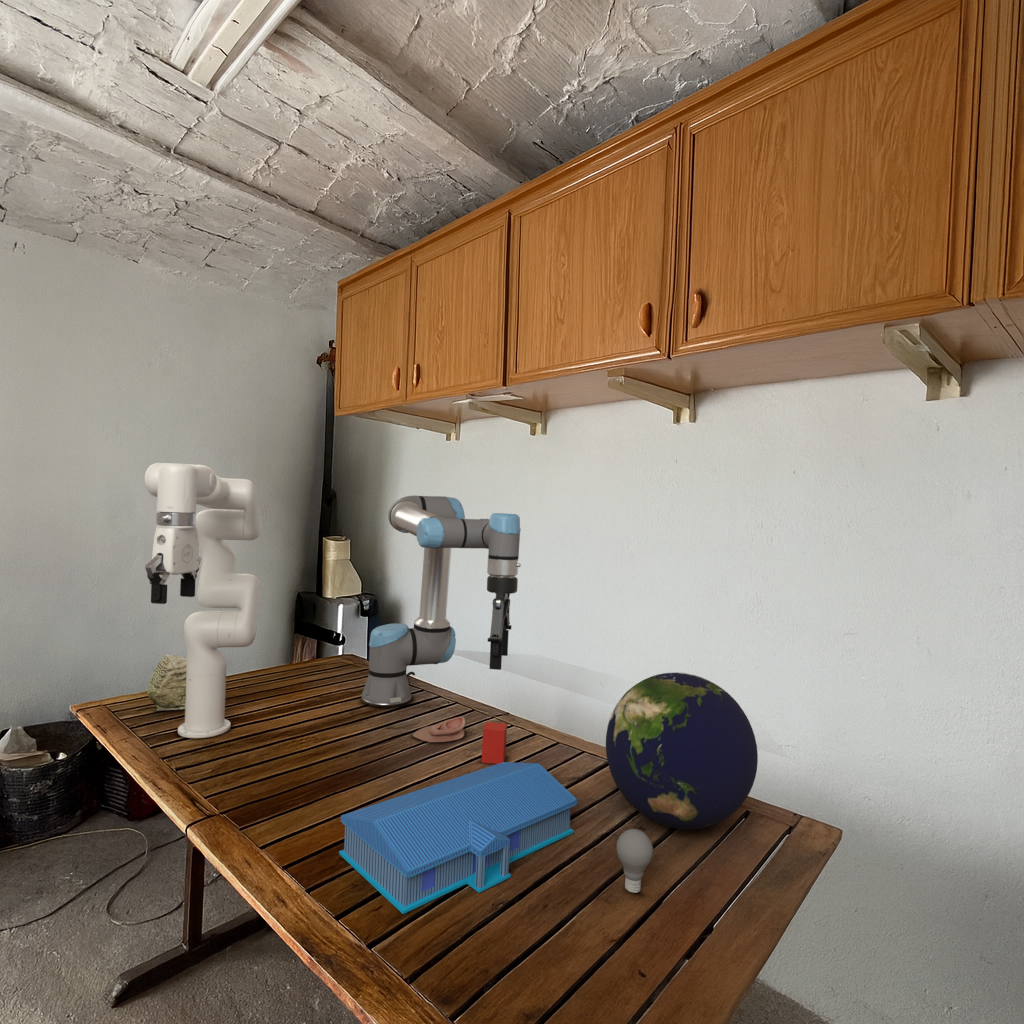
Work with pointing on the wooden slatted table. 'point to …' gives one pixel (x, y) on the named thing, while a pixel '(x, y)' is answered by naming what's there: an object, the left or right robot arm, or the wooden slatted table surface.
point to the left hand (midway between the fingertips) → (173, 599)
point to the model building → (456, 832)
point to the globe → (681, 751)
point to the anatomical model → (442, 731)
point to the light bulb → (634, 857)
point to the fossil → (169, 683)
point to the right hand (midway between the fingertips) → (498, 662)
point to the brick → (494, 743)
